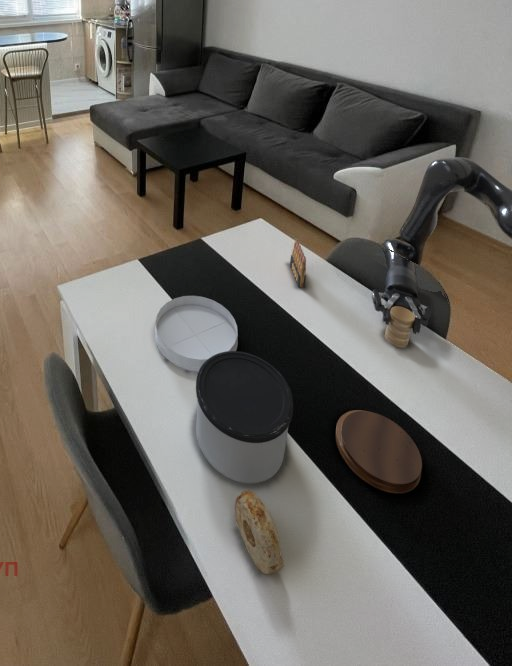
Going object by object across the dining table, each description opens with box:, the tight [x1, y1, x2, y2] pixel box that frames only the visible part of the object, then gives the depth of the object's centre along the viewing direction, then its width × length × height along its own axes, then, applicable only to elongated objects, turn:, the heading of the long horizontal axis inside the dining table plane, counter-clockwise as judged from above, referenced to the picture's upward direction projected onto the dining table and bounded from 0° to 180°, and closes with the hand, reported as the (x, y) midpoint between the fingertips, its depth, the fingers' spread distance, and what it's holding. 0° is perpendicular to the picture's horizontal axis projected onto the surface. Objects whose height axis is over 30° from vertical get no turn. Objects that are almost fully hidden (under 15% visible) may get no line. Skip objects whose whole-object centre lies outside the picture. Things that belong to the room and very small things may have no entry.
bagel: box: [233, 489, 285, 575], centre depth 73 cm, size 10×4×10 cm, turn 19°
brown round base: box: [335, 409, 423, 495], centre depth 87 cm, size 15×15×4 cm
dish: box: [154, 295, 239, 373], centre depth 116 cm, size 22×22×5 cm
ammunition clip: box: [289, 238, 307, 289], centre depth 134 cm, size 11×2×12 cm, turn 172°
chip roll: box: [384, 306, 415, 348], centre depth 111 cm, size 5×5×10 cm
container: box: [195, 350, 294, 484], centre depth 89 cm, size 19×19×15 cm
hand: (401, 326), depth 108 cm, fingers closed on chip roll, 5 cm apart
